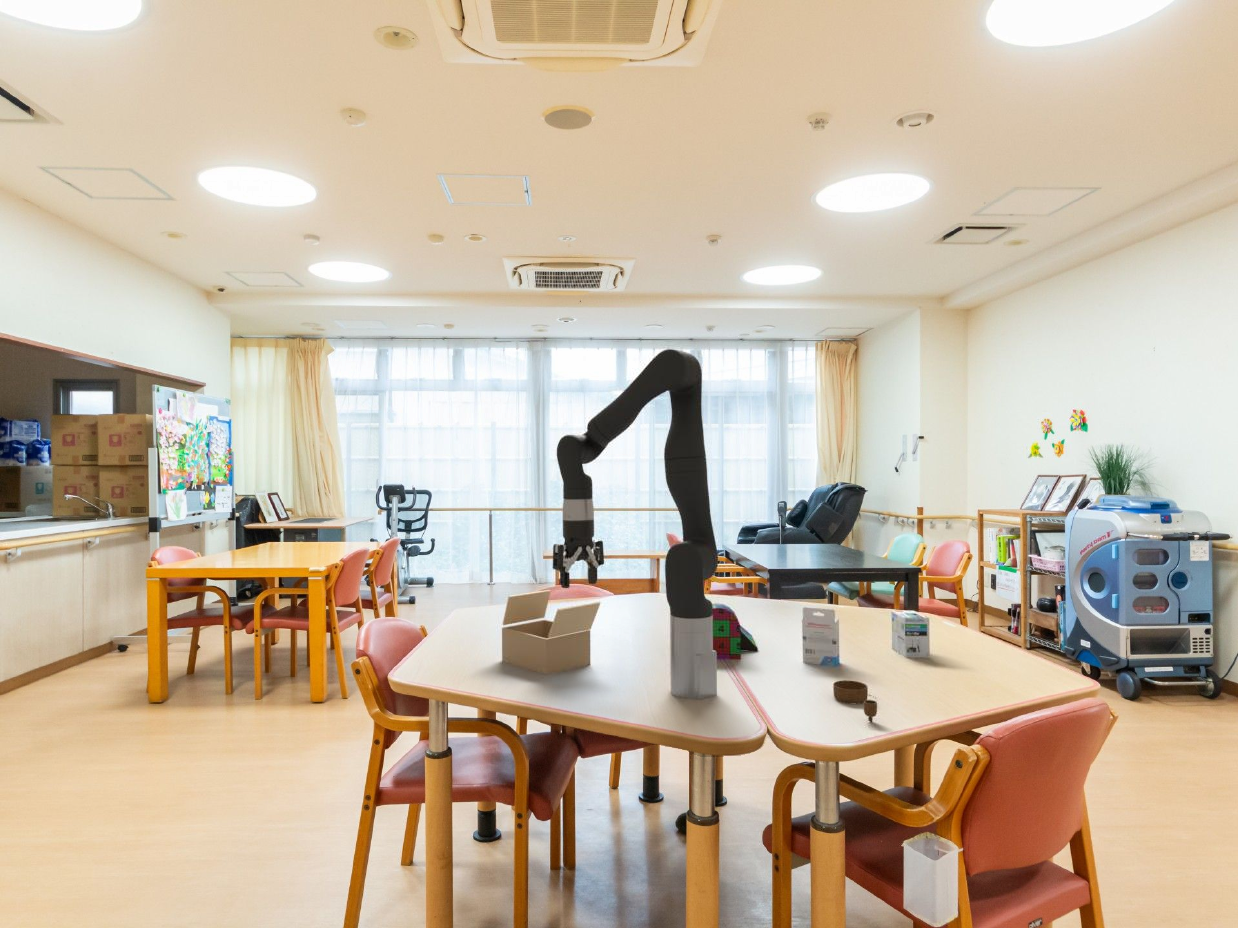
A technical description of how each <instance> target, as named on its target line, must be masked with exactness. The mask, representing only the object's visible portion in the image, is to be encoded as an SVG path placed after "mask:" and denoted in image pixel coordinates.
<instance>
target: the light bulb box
mask: <svg viewBox="0 0 1238 928" xmlns="http://www.w3.org/2000/svg"><path fill="white" fill-rule="evenodd" d="M890 612H891V649H892V650H893V651H895V652H897V653H898V654H900V655H901V656H902V657H904V658H905V659H907V658H908V659H909V658H910V659H911V658H912V659H917V658H918V659H929V658H931V657H930V656H931V654H930V652H931V651H930V650H931V649H930V618H929V617H928V616H926V615H923V614H921V613H920V612H917V611H916V610H901V609H900V610H897V609H892V610H891V611H890Z"/></svg>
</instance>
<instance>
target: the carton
mask: <svg viewBox="0 0 1238 928" xmlns="http://www.w3.org/2000/svg"><path fill="white" fill-rule="evenodd" d="M553 621H554V620H549V619H541V620H540V619H539V620H536V621H531V622H526V623H520V624H519V623H518V624H515V625H509V626H504V627H501V657H502V658H501V661H502V662H505V661H507V662H506V663H508V664H511V663H512V665H515V666H518V667H521V668H524V669H528V670H531V671H534V672H538V673H540V674H544V675H550V674H555V673H560V672H563V671H568V670H573V669H577V668H581V667H584V666H585V667H586V666H590V665H591V629H590V630H585V631H580V632H575V633H571V634H566V635H561V636H557V637H552V638H549V637H548V635H549V632H550V629H551V627H552V624H553Z"/></svg>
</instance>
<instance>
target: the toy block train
mask: <svg viewBox="0 0 1238 928" xmlns="http://www.w3.org/2000/svg"><path fill="white" fill-rule="evenodd" d="M712 606H713V650H715V651H716V652H717V660H718V659H720V660H742V658H741V657H742V655H741V654H742V651H741V650H748V651H747V652H758V651H759V648H758V645H757V644H756V641H755V639H754V638H753V637H754V636H753V635H752V634H751V633H750V632H749V631H748V630H746V628H744V627H743V626H742V625H741V623H740V621H739V619H738V617H737V615H736V613H735V611H734V610H732V609H731V607H729V606H727V605H725V604H723V603H719V602H718V603H717V602H716V603H712Z"/></svg>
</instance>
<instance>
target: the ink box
mask: <svg viewBox="0 0 1238 928" xmlns="http://www.w3.org/2000/svg"><path fill="white" fill-rule="evenodd" d="M816 613H820V614H823V615H819V614H818V615H817V614H816ZM839 620H840V619H839V618H836V611H835V609H829V608H818V607H806V606H805V607H803V608H802V620H801V623H802V625H801V628H802V629H801V630H802V663H804V664H805V663H806V664H811V665H812V664H814V665H820V666H830V667H838V665H839V664H840V621H839Z"/></svg>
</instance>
